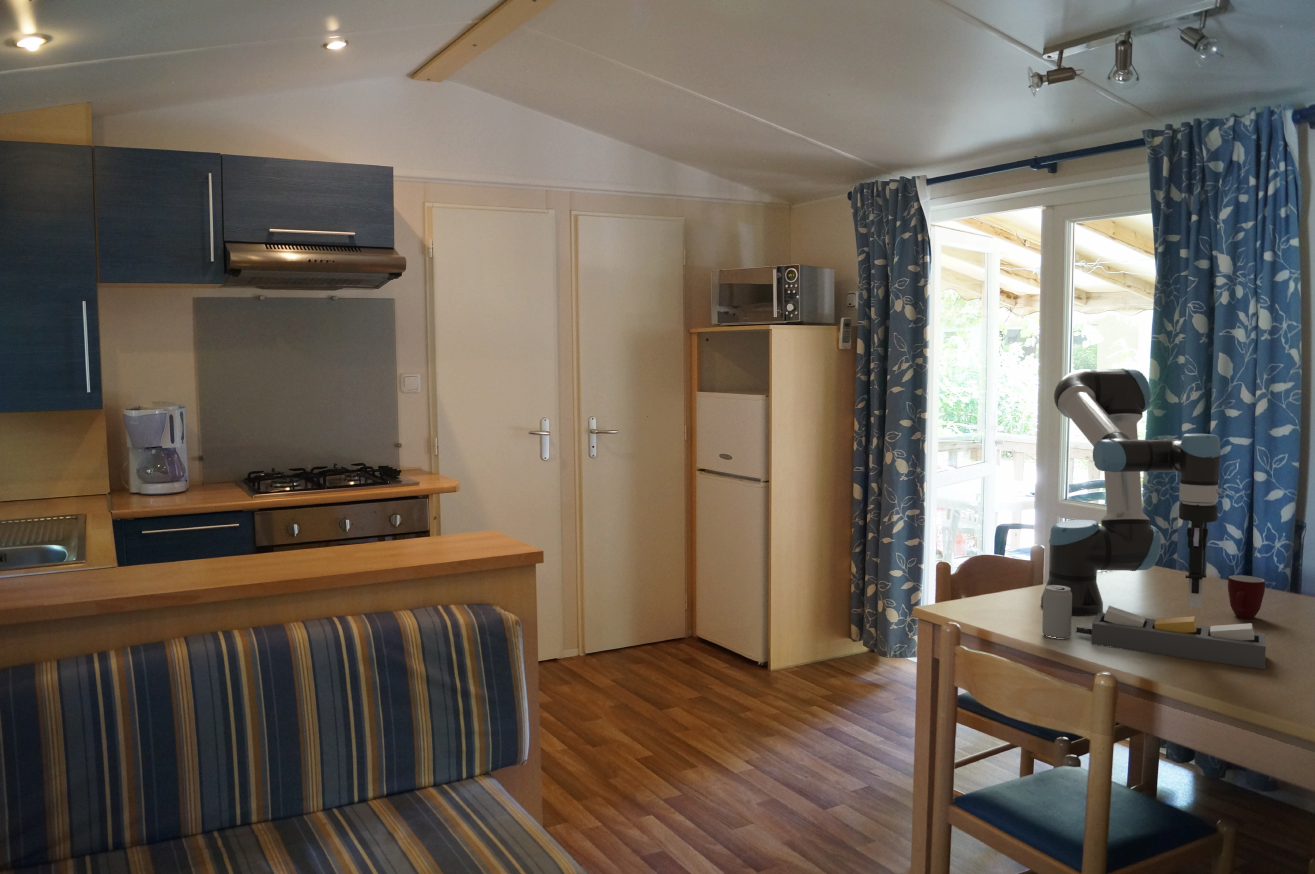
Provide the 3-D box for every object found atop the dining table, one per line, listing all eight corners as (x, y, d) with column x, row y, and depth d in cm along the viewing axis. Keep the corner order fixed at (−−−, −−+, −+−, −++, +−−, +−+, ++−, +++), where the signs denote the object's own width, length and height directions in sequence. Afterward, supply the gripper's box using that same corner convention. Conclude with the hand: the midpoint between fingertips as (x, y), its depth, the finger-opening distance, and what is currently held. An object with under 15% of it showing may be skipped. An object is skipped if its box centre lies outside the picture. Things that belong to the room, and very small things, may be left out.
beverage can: (1058, 641, 221) (1060, 591, 220) (1036, 634, 226) (1037, 585, 225) (1076, 638, 224) (1078, 588, 223) (1054, 631, 229) (1055, 583, 228)
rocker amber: (1156, 634, 214) (1154, 624, 214) (1158, 629, 218) (1155, 619, 218) (1195, 632, 210) (1193, 621, 210) (1197, 626, 214) (1194, 616, 214)
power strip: (1072, 641, 221) (1073, 620, 220) (1079, 630, 230) (1080, 610, 230) (1264, 669, 200) (1265, 646, 200) (1264, 655, 210) (1265, 633, 209)
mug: (1260, 625, 233) (1262, 585, 233) (1222, 619, 238) (1224, 581, 238) (1264, 616, 242) (1266, 578, 241) (1228, 611, 247) (1230, 573, 246)
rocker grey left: (1103, 619, 220) (1106, 610, 219) (1106, 614, 224) (1109, 605, 223) (1140, 632, 216) (1143, 622, 215) (1142, 627, 220) (1145, 617, 219)
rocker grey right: (1212, 642, 208) (1209, 631, 208) (1213, 636, 212) (1210, 625, 212) (1254, 639, 204) (1251, 628, 204) (1254, 633, 208) (1251, 623, 208)
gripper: (1217, 507, 202) (1213, 615, 204) (1218, 500, 213) (1215, 602, 215) (1177, 505, 206) (1173, 610, 208) (1181, 498, 217) (1177, 598, 219)
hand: (1194, 606), depth 211 cm, fingers closed
